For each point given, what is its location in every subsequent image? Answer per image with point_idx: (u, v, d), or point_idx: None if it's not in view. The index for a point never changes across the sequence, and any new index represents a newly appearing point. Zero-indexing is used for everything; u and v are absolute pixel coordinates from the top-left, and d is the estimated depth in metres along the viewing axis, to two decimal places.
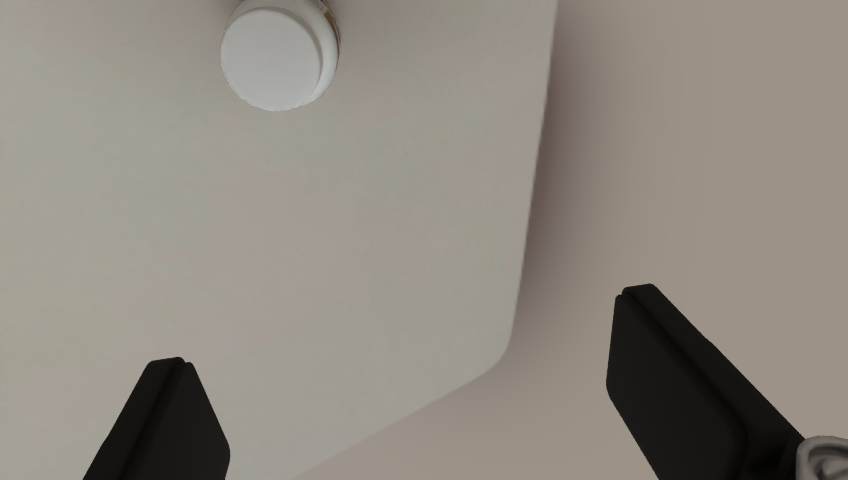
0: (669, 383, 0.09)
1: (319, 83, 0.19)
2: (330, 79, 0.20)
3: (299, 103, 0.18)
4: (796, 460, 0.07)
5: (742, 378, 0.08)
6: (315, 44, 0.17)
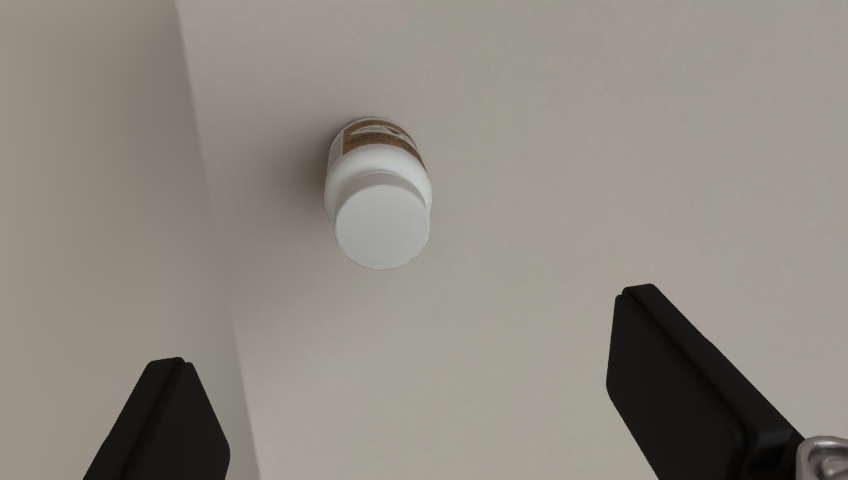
0: (669, 383, 0.09)
1: (407, 169, 0.19)
2: (404, 156, 0.19)
3: (422, 206, 0.17)
4: (796, 460, 0.07)
5: (742, 378, 0.08)
6: (364, 186, 0.17)
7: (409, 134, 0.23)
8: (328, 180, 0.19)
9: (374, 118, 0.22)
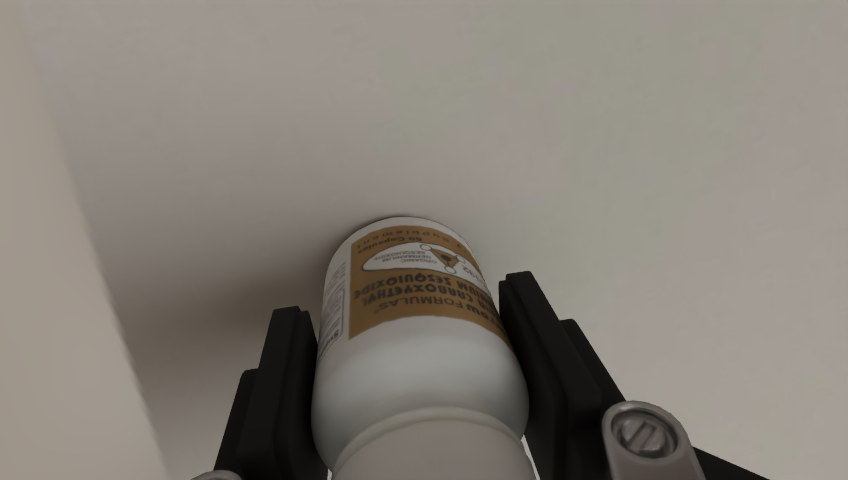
0: (526, 359, 0.10)
1: (488, 380, 0.09)
2: (480, 349, 0.09)
3: None
4: (602, 421, 0.08)
5: (576, 352, 0.09)
6: None
7: (466, 244, 0.13)
8: (318, 395, 0.09)
9: (406, 221, 0.13)
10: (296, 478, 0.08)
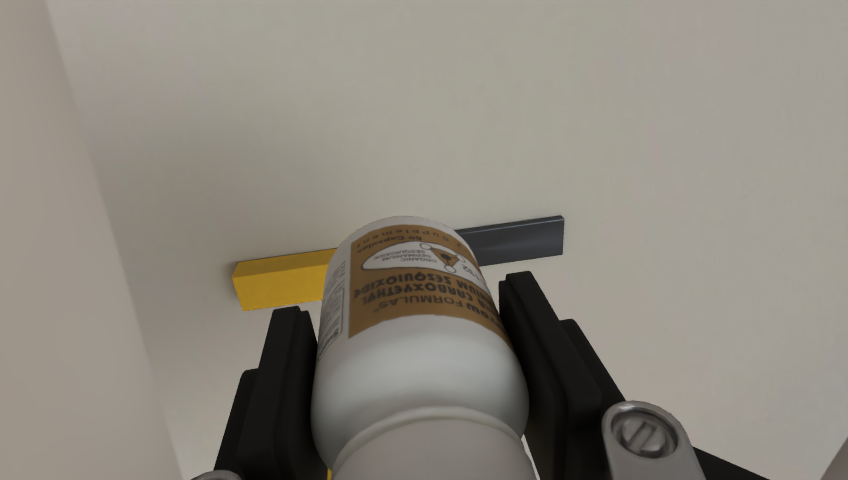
0: (526, 359, 0.10)
1: (488, 379, 0.09)
2: (480, 348, 0.09)
3: None
4: (602, 421, 0.08)
5: (576, 352, 0.09)
6: None
7: (466, 243, 0.13)
8: (318, 394, 0.09)
9: (406, 220, 0.13)
10: (296, 478, 0.08)
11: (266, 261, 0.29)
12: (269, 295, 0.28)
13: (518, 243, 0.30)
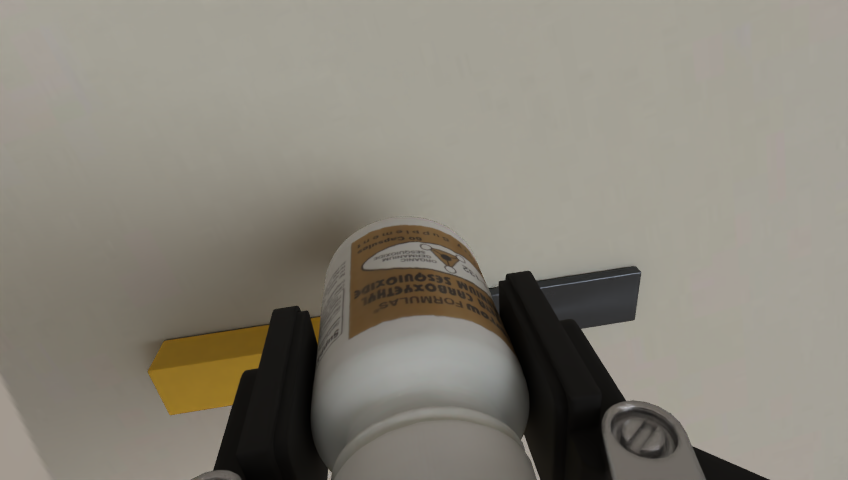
0: (526, 359, 0.10)
1: (488, 379, 0.09)
2: (481, 349, 0.09)
3: None
4: (602, 421, 0.08)
5: (576, 352, 0.09)
6: None
7: (466, 244, 0.13)
8: (318, 395, 0.09)
9: (406, 221, 0.13)
10: (296, 478, 0.08)
11: (205, 340, 0.19)
12: (207, 393, 0.19)
13: (573, 306, 0.21)
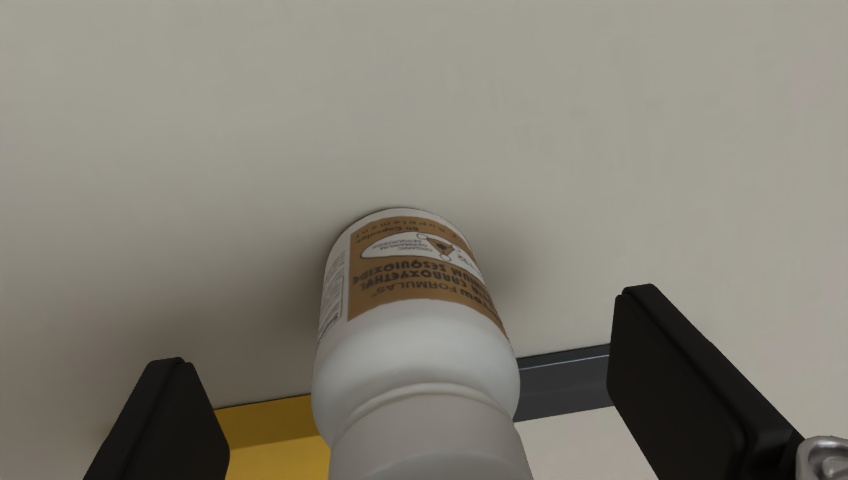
0: (669, 383, 0.09)
1: (480, 359, 0.09)
2: (473, 330, 0.09)
3: None
4: (796, 460, 0.07)
5: (742, 378, 0.08)
6: (397, 450, 0.07)
7: (461, 235, 0.14)
8: (319, 374, 0.09)
9: (403, 212, 0.13)
10: None
11: None
12: None
13: None
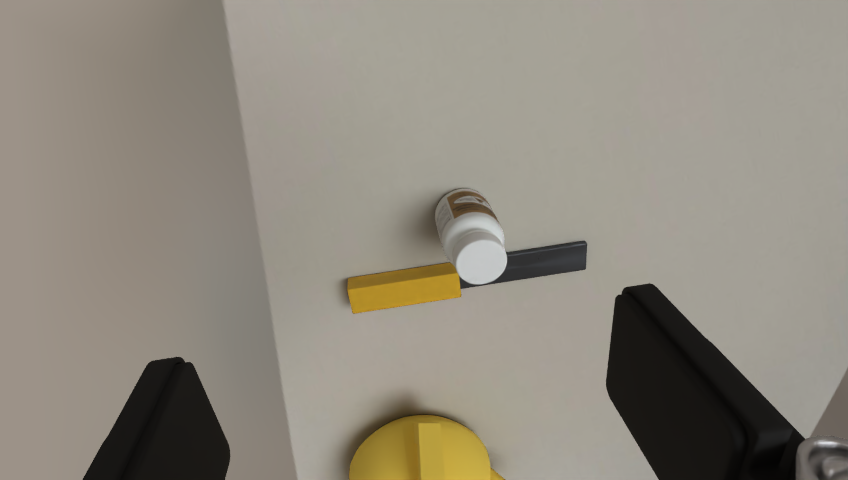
0: (669, 383, 0.09)
1: (492, 227, 0.33)
2: (490, 220, 0.33)
3: (503, 250, 0.31)
4: (796, 460, 0.07)
5: (742, 378, 0.08)
6: (473, 240, 0.31)
7: (485, 198, 0.37)
8: (446, 233, 0.33)
9: (465, 189, 0.37)
10: None
11: (369, 277, 0.40)
12: (372, 302, 0.39)
13: (552, 261, 0.41)
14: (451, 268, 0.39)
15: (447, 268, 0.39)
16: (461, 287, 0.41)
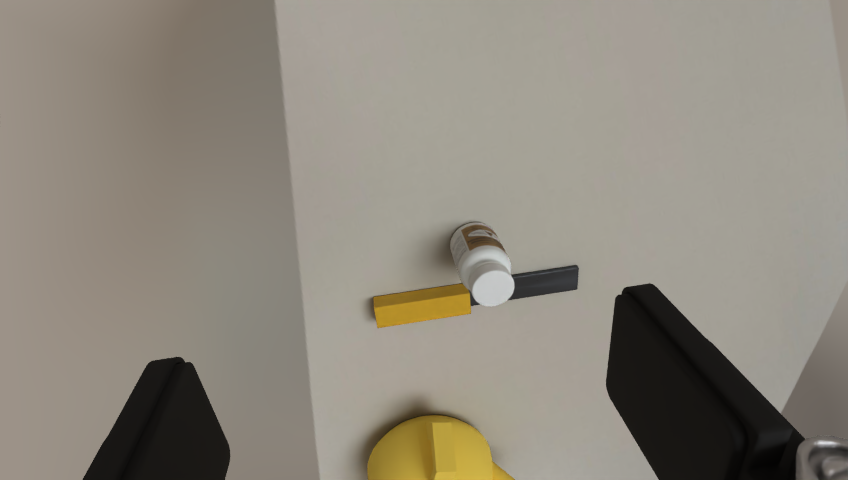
0: (669, 383, 0.09)
1: (501, 258, 0.39)
2: (500, 252, 0.39)
3: (512, 279, 0.38)
4: (796, 460, 0.07)
5: (742, 378, 0.08)
6: (487, 271, 0.37)
7: (493, 230, 0.44)
8: (463, 263, 0.39)
9: (476, 223, 0.43)
10: None
11: (392, 296, 0.46)
12: (395, 318, 0.45)
13: (549, 283, 0.47)
14: (463, 288, 0.46)
15: (459, 289, 0.46)
16: (470, 304, 0.47)
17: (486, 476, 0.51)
